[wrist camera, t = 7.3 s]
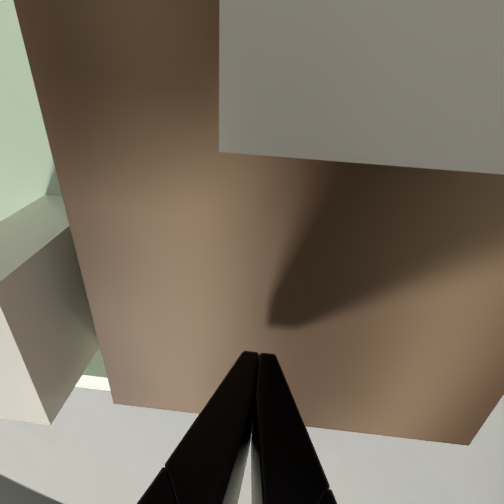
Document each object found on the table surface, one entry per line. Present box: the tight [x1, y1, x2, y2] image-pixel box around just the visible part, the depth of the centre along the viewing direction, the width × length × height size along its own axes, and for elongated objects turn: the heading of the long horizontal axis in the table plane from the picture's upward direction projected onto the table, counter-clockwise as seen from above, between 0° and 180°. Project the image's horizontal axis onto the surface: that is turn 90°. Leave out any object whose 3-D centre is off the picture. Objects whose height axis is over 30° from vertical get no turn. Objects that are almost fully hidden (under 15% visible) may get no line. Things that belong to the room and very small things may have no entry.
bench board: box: [13, 0, 504, 446], centre depth 9 cm, size 12×16×4 cm
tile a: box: [0, 195, 100, 425], centre depth 11 cm, size 5×5×2 cm
